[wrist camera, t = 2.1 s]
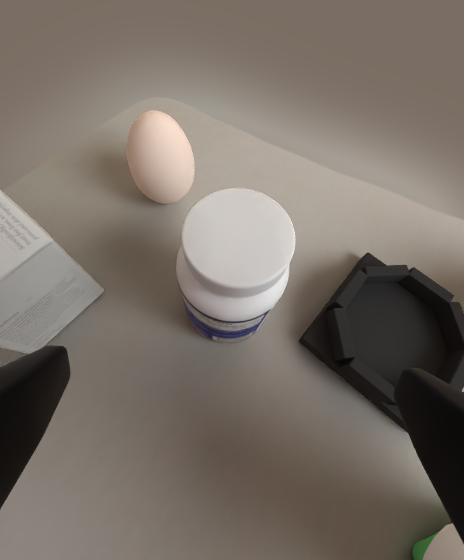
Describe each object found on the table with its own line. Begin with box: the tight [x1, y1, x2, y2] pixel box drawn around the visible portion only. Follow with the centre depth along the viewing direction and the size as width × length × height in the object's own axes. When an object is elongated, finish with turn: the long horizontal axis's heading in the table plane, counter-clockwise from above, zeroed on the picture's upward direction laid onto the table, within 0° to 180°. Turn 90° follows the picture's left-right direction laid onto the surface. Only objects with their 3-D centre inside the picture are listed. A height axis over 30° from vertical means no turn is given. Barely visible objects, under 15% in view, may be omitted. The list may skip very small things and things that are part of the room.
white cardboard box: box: [0, 190, 104, 354], centre depth 16 cm, size 6×6×7 cm
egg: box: [127, 110, 194, 204], centre depth 20 cm, size 5×5×7 cm
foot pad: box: [299, 253, 464, 432], centre depth 19 cm, size 9×9×2 cm
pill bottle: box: [176, 188, 295, 344], centre depth 16 cm, size 6×6×10 cm
